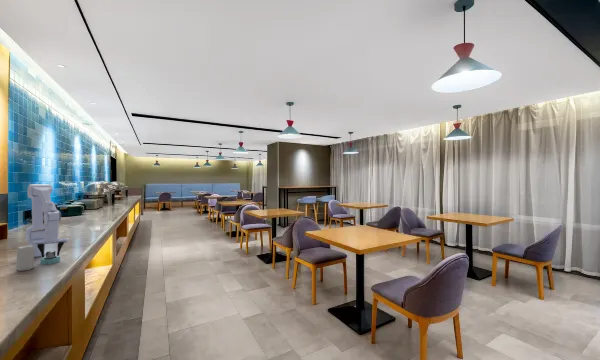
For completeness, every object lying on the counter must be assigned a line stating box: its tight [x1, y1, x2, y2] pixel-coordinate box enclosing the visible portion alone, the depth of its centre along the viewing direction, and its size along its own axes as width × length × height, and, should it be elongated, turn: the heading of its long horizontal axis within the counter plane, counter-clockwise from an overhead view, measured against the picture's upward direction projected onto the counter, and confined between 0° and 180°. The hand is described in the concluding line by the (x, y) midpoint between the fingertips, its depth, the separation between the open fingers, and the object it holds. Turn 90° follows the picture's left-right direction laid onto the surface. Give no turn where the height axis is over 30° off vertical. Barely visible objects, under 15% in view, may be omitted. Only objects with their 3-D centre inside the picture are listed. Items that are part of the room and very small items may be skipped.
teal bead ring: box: [40, 255, 61, 265], centre depth 151 cm, size 8×8×2 cm
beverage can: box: [15, 245, 35, 272], centre depth 138 cm, size 6×6×12 cm
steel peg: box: [45, 250, 57, 259], centre depth 151 cm, size 4×4×6 cm
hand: (50, 256), depth 151 cm, fingers open, 6 cm apart
